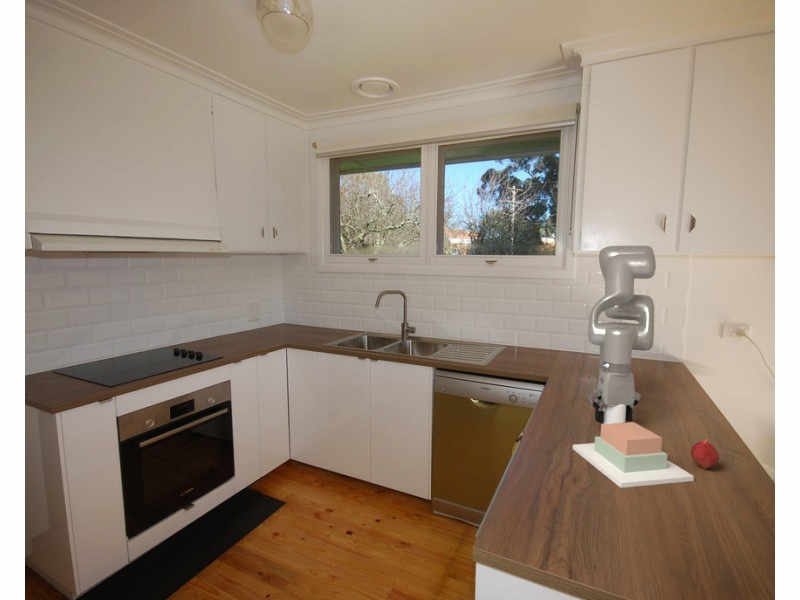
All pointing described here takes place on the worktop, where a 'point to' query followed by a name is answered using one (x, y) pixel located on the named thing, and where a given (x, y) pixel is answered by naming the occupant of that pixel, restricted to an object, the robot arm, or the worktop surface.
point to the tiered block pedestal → (631, 456)
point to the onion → (704, 454)
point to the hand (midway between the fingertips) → (613, 421)
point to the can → (614, 414)
